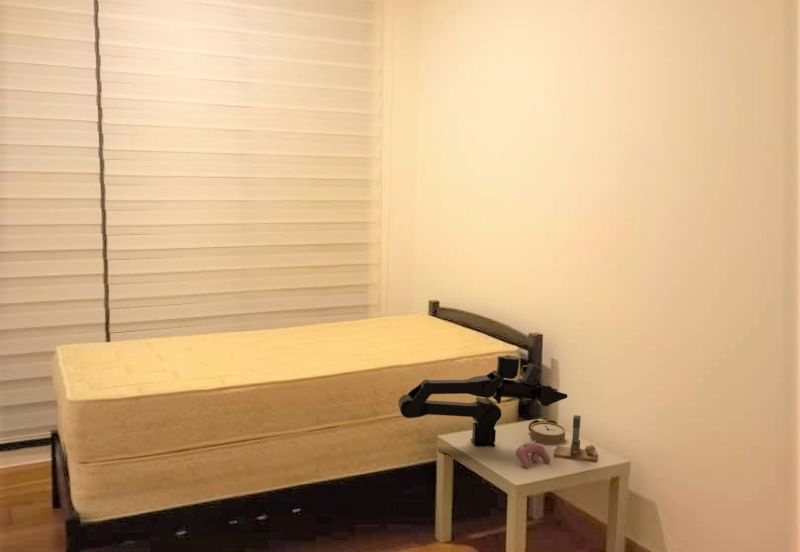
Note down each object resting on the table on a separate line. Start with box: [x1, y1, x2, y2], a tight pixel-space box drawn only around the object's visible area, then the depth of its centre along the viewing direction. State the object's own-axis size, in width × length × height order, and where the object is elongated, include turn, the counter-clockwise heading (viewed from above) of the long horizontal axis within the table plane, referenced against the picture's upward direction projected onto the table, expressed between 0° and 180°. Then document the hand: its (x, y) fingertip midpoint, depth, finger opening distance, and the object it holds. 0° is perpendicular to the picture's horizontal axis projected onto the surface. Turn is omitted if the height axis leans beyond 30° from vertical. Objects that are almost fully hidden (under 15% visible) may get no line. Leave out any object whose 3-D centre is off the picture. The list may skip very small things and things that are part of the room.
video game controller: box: [515, 442, 551, 469], centre depth 220 cm, size 10×5×7 cm, turn 123°
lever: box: [571, 414, 582, 445], centre depth 228 cm, size 2×3×10 cm, turn 163°
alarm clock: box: [528, 419, 566, 444], centre depth 246 cm, size 11×5×15 cm
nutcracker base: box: [553, 438, 598, 463], centre depth 229 cm, size 12×8×4 cm, turn 73°
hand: (562, 393), depth 238 cm, fingers open, 9 cm apart
